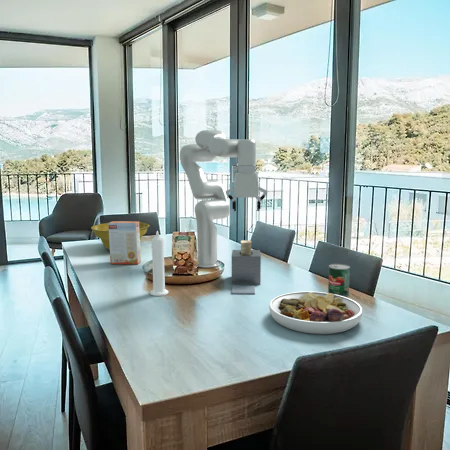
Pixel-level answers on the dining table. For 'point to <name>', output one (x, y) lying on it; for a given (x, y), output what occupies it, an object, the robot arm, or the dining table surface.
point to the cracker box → (124, 242)
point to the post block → (246, 267)
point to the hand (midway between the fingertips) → (246, 210)
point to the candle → (158, 266)
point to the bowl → (315, 312)
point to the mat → (243, 289)
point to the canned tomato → (339, 279)
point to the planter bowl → (103, 232)
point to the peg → (245, 247)
